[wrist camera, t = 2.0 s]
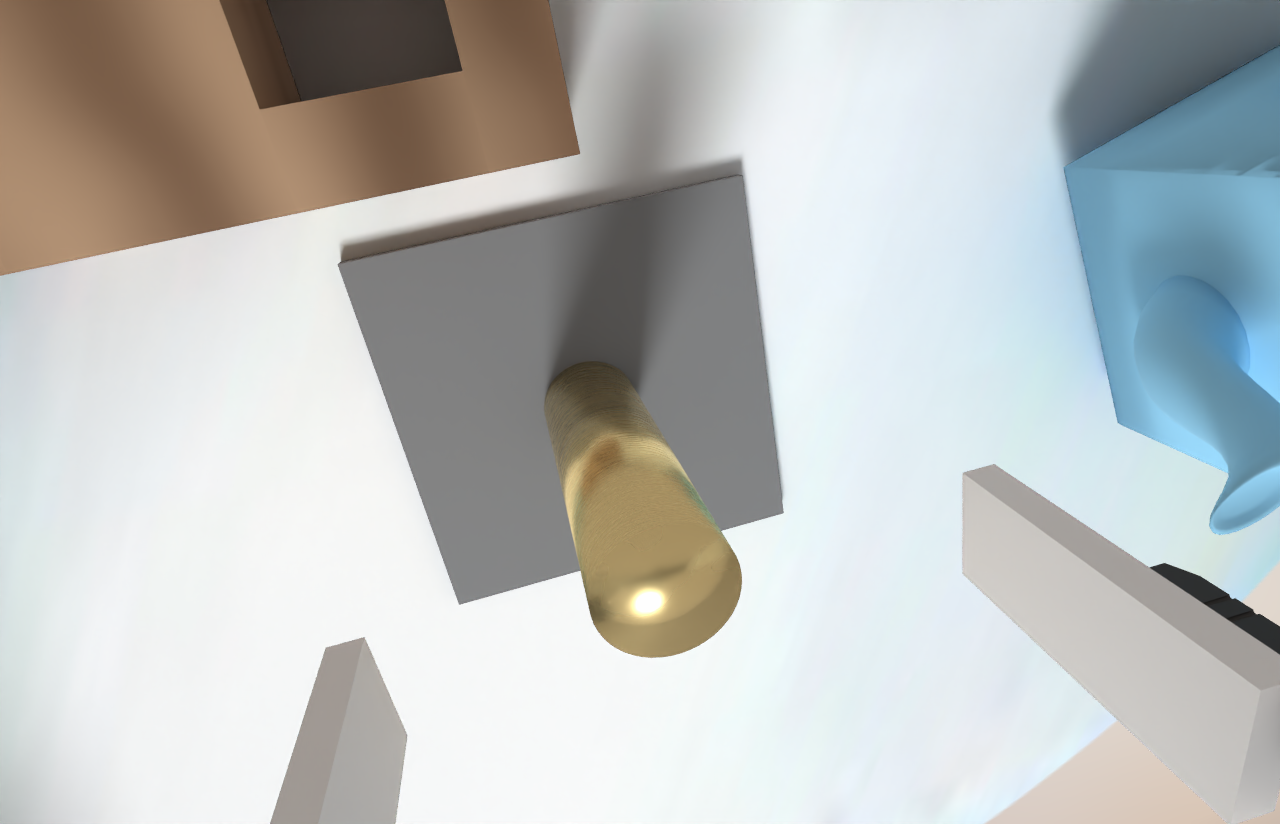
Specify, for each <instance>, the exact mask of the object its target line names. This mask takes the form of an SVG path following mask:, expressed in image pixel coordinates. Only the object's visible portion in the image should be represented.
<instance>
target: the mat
mask: <svg viewBox="0 0 1280 824" xmlns="http://www.w3.org/2000/svg"><path fill="white" fill-rule="evenodd" d="M338 267H339V270H340V273H341V275H342V278H343V281H344V284H345V287H346V289H347V292H348V295H349V298H350V300H351V303H352V306H353V309H354V312H355V314H356V317H357V320H358V323H359V326H360V328H361V331H362V334H363V337H364V340H365V342H366V345H367V348H368V351H369V354H370V356H371V359H372V362H373V365H374V368H375V370H376V373H377V376H378V379H379V382H380V384H381V387H382V390H383V393H384V396H385V398H386V401H387V404H388V407H389V410H390V412H391V415H392V418H393V421H394V424H395V426H396V429H397V432H398V435H399V438H400V440H401V443H402V446H403V449H404V452H405V454H406V457H407V460H408V463H409V466H410V468H411V471H412V474H413V477H414V480H415V482H416V485H417V488H418V491H419V494H420V496H421V499H422V502H423V505H424V508H425V510H426V513H427V516H428V519H429V522H430V524H431V527H432V530H433V533H434V536H435V538H436V541H437V544H438V547H439V550H440V552H441V555H442V558H443V561H444V564H445V566H446V569H447V572H448V575H449V577H450V580H451V583H452V586H453V589H454V591H455V594H456V597H457V600H458V603H459V605H460V604H463V603H467V602H470V601H474V600H478V599H481V598H485V597H488V596H492V595H495V594H499V593H502V592H506V591H509V590H513V589H517V588H520V587H524V586H527V585H531V584H534V583H538V582H541V581H545V580H548V579H552V578H555V577H559V576H563V575H566V574H570V573H573V572H577V571H580V566H579V562H578V557H577V553H576V549H575V544H574V540H573V536H572V531H571V527H570V523H569V518H568V514H567V509H566V505H565V501H564V496H563V492H562V488H561V483H560V479H559V475H558V470H557V466H556V461H555V457H554V453H553V448H552V444H551V440H550V435H549V431H548V427H547V422H546V418H545V413H544V401H545V396H546V393H547V390H548V388H549V386H550V384H551V383H552V381H553V380H554V379H555V378H556V377H557V376H558V375H559V374H560V373H561V372H562V371H563V370H565V369H567V368H568V367H570V366H572V365H574V364H577V363H581V362H586V361H599V362H604V363H607V364H610V365H612V366H614V367H616V368H618V369H619V370H621V371H622V372H623V373H624V374H625V375H626V376H627V378H628V379H629V380H630V382H631V384H632V385H633V387H634V389H635V390H636V392H637V393H638V395H639V397H640V398H641V400H642V402H643V403H644V405H645V407H646V408H647V410H648V412H649V413H650V415H651V417H652V418H653V420H654V422H655V423H656V425H657V426H658V428H659V430H660V431H661V433H662V435H663V436H664V438H665V440H666V441H667V443H668V445H669V446H670V448H671V450H672V451H673V453H674V454H675V456H676V458H677V459H678V461H679V463H680V464H681V466H682V468H683V469H684V471H685V473H686V474H687V476H688V478H689V479H690V481H691V483H692V484H693V486H694V487H695V489H696V491H697V492H698V494H699V496H700V497H701V499H702V501H703V502H704V504H705V506H706V507H707V509H708V511H709V512H710V514H711V515H712V517H713V519H714V520H715V522H716V524H717V525H718V527H719V529H720V530H721V531H722V530H726V529H729V528H733V527H736V526H740V525H743V524H747V523H750V522H754V521H757V520H761V519H764V518H768V517H772V516H775V515H779V514H782V513H784V512H783V504H782V496H781V488H780V480H779V471H778V463H777V455H776V447H775V438H774V430H773V422H772V414H771V406H770V397H769V389H768V381H767V373H766V365H765V356H764V348H763V340H762V332H761V323H760V315H759V307H758V299H757V291H756V282H755V274H754V266H753V258H752V250H751V241H750V233H749V225H748V217H747V208H746V200H745V192H744V184H743V176H742V175H735V176H730V177H725V178H721V179H716V180H712V181H707V182H703V183H698V184H694V185H689V186H684V187H680V188H675V189H671V190H666V191H662V192H657V193H652V194H648V195H643V196H639V197H634V198H630V199H625V200H621V201H616V202H611V203H607V204H602V205H598V206H593V207H589V208H584V209H580V210H575V211H570V212H566V213H561V214H557V215H552V216H548V217H543V218H539V219H534V220H529V221H525V222H520V223H516V224H511V225H507V226H502V227H498V228H493V229H488V230H484V231H479V232H475V233H470V234H466V235H461V236H457V237H452V238H447V239H443V240H438V241H434V242H429V243H425V244H420V245H415V246H411V247H406V248H402V249H397V250H393V251H388V252H384V253H379V254H374V255H370V256H365V257H361V258H356V259H352V260H347V261H343V262H340V263H339V264H338Z"/></svg>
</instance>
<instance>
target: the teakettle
mask: <svg viewBox="0 0 1280 824" xmlns="http://www.w3.org/2000/svg"><path fill="white" fill-rule="evenodd" d="M1064 172H1065V177H1066V181H1067V186H1068V191H1069V195H1070V200H1071V205H1072V210H1073V214H1074V219H1075V224H1076V228H1077V233H1078V238H1079V242H1080V247H1081V252H1082V256H1083V261H1084V265H1085V270H1086V275H1087V280H1088V285H1089V289H1090V294H1091V299H1092V304H1093V309H1094V313H1095V318H1096V322H1097V327H1098V332H1099V336H1100V341H1101V346H1102V350H1103V355H1104V360H1105V365H1106V369H1107V374H1108V379H1109V384H1110V389H1111V393H1112V398H1113V403H1114V407H1115V412H1116V417H1117V421H1118V423H1119V424H1121V425H1123V426H1125V427H1127V428H1129V429H1132V430H1134V431H1136V432H1138V433H1140V434H1143V435H1145V436H1147V437H1149V438H1151V439H1154V440H1156V441H1158V442H1160V443H1163V444H1165V445H1167V446H1169V447H1171V448H1174V449H1176V450H1178V451H1180V452H1182V453H1185V454H1187V455H1189V456H1191V457H1193V458H1196V459H1198V460H1200V461H1202V462H1205V463H1207V464H1209V465H1211V466H1213V467H1216V468H1218V469H1220V470H1222V471H1224V472H1227V473H1228V475H1229V477H1228V480H1227V482H1226V484H1225V487H1224V489H1223V492H1222V494H1221V495H1220V497H1219V499H1218V501H1217V503H1216V505H1215V507H1214V509H1213V511H1212V513H1211V516H1210V524H1209V526H1210V528H1211V530H1212V532H1213V533H1216V534H1219V535H1221V534H1229V533H1233V532H1236V531H1239V530H1241V529H1243V528H1246V527H1248V526H1250V525H1252V524H1253V523H1255V522H1257V521H1259V520H1261V519H1262V518H1264V517H1265V516H1267V515H1268V514H1270V513H1271V512H1272V511H1274V510H1275V509H1276V508H1278V507H1279V506H1280V45H1279V46H1277V47H1275V48H1274V49H1272V50H1270V51H1268V52H1267V53H1265V54H1263V55H1261V56H1259V57H1258V58H1256V59H1254V60H1252V61H1250V62H1249V63H1247V64H1245V65H1243V66H1242V67H1240V68H1238V69H1236V70H1234V71H1233V72H1231V73H1229V74H1227V75H1226V76H1224V77H1222V78H1220V79H1218V80H1217V81H1215V82H1213V83H1211V84H1210V85H1208V86H1206V87H1204V88H1203V89H1201V90H1199V91H1197V92H1195V93H1194V94H1192V95H1190V96H1188V97H1187V98H1185V99H1183V100H1181V101H1179V102H1178V103H1176V104H1174V105H1172V106H1171V107H1169V108H1167V109H1165V110H1164V111H1162V112H1160V113H1158V114H1156V115H1155V116H1153V117H1151V118H1149V119H1148V120H1146V121H1144V122H1142V123H1141V124H1139V125H1137V126H1135V127H1133V128H1132V129H1130V130H1128V131H1126V132H1125V133H1123V134H1121V135H1119V136H1118V137H1116V138H1114V139H1112V140H1110V141H1109V142H1107V143H1105V144H1103V145H1102V146H1100V147H1098V148H1096V149H1095V150H1093V151H1091V152H1089V153H1088V154H1086V155H1084V156H1082V157H1080V158H1079V159H1077V160H1075V161H1073V162H1072V163H1070V164H1068V165H1067V166H1065V167H1064Z"/></svg>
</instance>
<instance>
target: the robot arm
mask: <svg viewBox="0 0 1280 824" xmlns="http://www.w3.org/2000/svg"><path fill="white" fill-rule="evenodd" d="M962 574H963V575H964V576H965V577H966V578H968V579H969V580H970V581H971V582H972V583H973V584H974V585H975V586H976V587H977V588H978V589H979V590H980V591H981V592H982V593H983V594H985V595H986V596H987V597H988V598H989V599H990V600H991V601H992V602H993V603H994V604H995V605H996V606H997V607H998V608H999V609H1000V610H1001V611H1003V612H1004V613H1005V614H1006V615H1007V616H1008V617H1009V618H1010V619H1011V620H1012V621H1013V622H1014V623H1015V624H1016V625H1017V626H1018V627H1019V628H1021V629H1022V630H1023V631H1024V632H1025V633H1026V634H1027V635H1028V636H1029V637H1030V638H1031V639H1032V640H1033V641H1034V642H1035V643H1036V644H1037V645H1039V646H1040V647H1041V648H1042V649H1043V650H1044V651H1045V652H1046V653H1047V654H1048V655H1049V656H1050V657H1051V658H1052V659H1053V660H1054V661H1056V662H1057V663H1058V664H1059V665H1060V666H1061V667H1062V668H1063V669H1064V670H1065V671H1066V672H1067V673H1068V674H1069V675H1070V676H1071V677H1072V678H1074V679H1075V680H1076V681H1077V682H1078V683H1079V684H1080V685H1081V686H1082V687H1083V688H1084V689H1085V690H1086V691H1087V692H1088V693H1089V694H1090V695H1092V696H1093V697H1094V698H1095V699H1096V700H1097V701H1098V702H1099V703H1100V704H1101V705H1102V706H1103V707H1104V708H1105V709H1106V710H1107V711H1109V712H1110V713H1111V714H1112V715H1113V716H1114V717H1115V718H1116V719H1117V720H1118V721H1119V722H1120V723H1121V724H1122V725H1123V726H1124V727H1125V728H1127V729H1128V730H1129V731H1130V732H1131V733H1132V734H1133V735H1134V736H1135V737H1136V738H1137V739H1138V740H1139V741H1140V742H1142V744H1143V745H1145V746H1146V747H1147V748H1148V749H1149V750H1150V751H1151V752H1152V753H1153V754H1154V755H1155V756H1156V757H1157V758H1158V759H1159V760H1160V761H1162V762H1163V763H1164V764H1165V765H1166V766H1167V767H1168V768H1169V769H1170V770H1171V771H1172V772H1173V773H1174V774H1175V775H1176V776H1177V777H1178V778H1180V779H1181V780H1182V781H1183V782H1184V783H1185V784H1186V785H1187V786H1188V787H1189V788H1190V789H1191V790H1192V791H1193V792H1194V793H1195V794H1196V795H1198V796H1199V797H1200V798H1201V799H1202V800H1203V801H1204V802H1205V803H1206V804H1207V805H1208V806H1209V807H1210V808H1211V809H1212V810H1213V811H1215V812H1216V813H1217V814H1218V815H1219V816H1220V817H1221V818H1222V819H1223V820H1224V821H1225V822H1226V823H1227V824H1238V823H1241V822H1243V821H1246V820H1249V819H1252V818H1255V817H1258V816H1261V815H1264V814H1267V813H1269V812H1272V811H1274V810H1275V806H1276V802H1277V798H1278V794H1279V790H1280V626H1278V625H1277V624H1275V623H1273V622H1272V621H1270V620H1269V619H1267V618H1265V617H1264V616H1262V615H1261V614H1255V613H1254V611H1253V609H1251V608H1250V607H1248V606H1246V605H1245V604H1243V603H1242V602H1240V601H1239V600H1237V599H1231V598H1230V596H1229V594H1227V593H1226V592H1224V591H1223V590H1221V589H1220V588H1218V587H1216V586H1215V585H1213V584H1212V583H1210V582H1208V581H1207V580H1205V579H1204V578H1202V577H1201V576H1198V575H1196V574H1193V573H1190V572H1187V571H1185V570H1182V569H1179V568H1177V567H1174V566H1171V565H1169V564H1166V563H1163V564H1160V565H1156V566H1153V567H1150V568H1149V567H1148V566H1146V565H1145V564H1143V563H1142V562H1140V561H1139V560H1137V559H1136V558H1134V557H1133V556H1131V555H1130V554H1128V553H1127V552H1125V551H1124V550H1122V549H1121V548H1119V547H1118V546H1116V545H1115V544H1113V543H1112V542H1110V541H1109V540H1107V539H1106V538H1104V537H1103V536H1101V535H1100V534H1098V533H1097V532H1095V531H1094V530H1092V529H1091V528H1089V527H1088V526H1086V525H1085V524H1083V523H1082V522H1080V521H1079V520H1077V519H1076V518H1074V517H1073V516H1071V515H1070V514H1068V513H1067V512H1065V511H1064V510H1062V509H1061V508H1059V507H1058V506H1056V505H1055V504H1053V503H1052V502H1050V501H1049V500H1047V499H1046V498H1044V497H1043V496H1041V495H1040V494H1038V493H1037V492H1035V491H1034V490H1032V489H1031V488H1029V487H1028V486H1026V485H1025V484H1023V483H1022V482H1020V481H1019V480H1017V479H1016V478H1014V477H1013V476H1011V475H1010V474H1008V473H1007V472H1005V471H1004V470H1002V469H1001V468H999V467H998V466H996V465H995V464H993V465H989V466H986V467H982V468H978V469H975V470H971V471H967V472H964V473H963V534H962ZM406 742H407V734H406V731H405V729H404V727H403V724H402V722H401V720H400V718H399V715H398V713H397V711H396V708H395V706H394V704H393V702H392V699H391V697H390V695H389V692H388V690H387V688H386V686H385V683H384V681H383V679H382V676H381V674H380V672H379V670H378V667H377V665H376V663H375V660H374V658H373V656H372V654H371V651H370V649H369V647H368V644H367V642H366V640H365V638H364V637H363V638H360V639H356V640H352V641H349V642H345V643H342V644H338V645H334V646H331V647H327V648H326V649H325V652H324V655H323V658H322V661H321V665H320V668H319V671H318V674H317V677H316V680H315V684H314V687H313V690H312V693H311V696H310V699H309V703H308V706H307V709H306V712H305V715H304V718H303V721H302V725H301V728H300V731H299V734H298V737H297V740H296V744H295V747H294V750H293V753H292V756H291V759H290V763H289V766H288V769H287V772H286V775H285V778H284V781H283V785H282V788H281V791H280V794H279V797H278V800H277V804H276V807H275V810H274V813H273V816H272V819H271V823H270V824H395V822H396V815H397V807H398V800H399V793H400V786H401V778H402V771H403V764H404V756H405V749H406Z"/></svg>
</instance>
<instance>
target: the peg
mask: <svg viewBox="0 0 1280 824" xmlns="http://www.w3.org/2000/svg"><path fill="white" fill-rule="evenodd" d="M544 413H545V418H546V422H547V427H548V431H549V435H550V440H551V444H552V448H553V453H554V457H555V461H556V466H557V470H558V475H559V479H560V483H561V488H562V492H563V496H564V501H565V505H566V509H567V514H568V518H569V523H570V527H571V531H572V536H573V540H574V544H575V549H576V553H577V557H578V562H579V566H580V571H581V575H582V579H583V584H584V588H585V592H586V597H587V601H588V605H589V610H590V614H591V617H592V620H593V623H594V625H595V627H596V629H597V630H598V632H599V633H600V634H601V636H602V637H603V638H604V639H605V640H606V641H607V642H608V643H609V644H611V645H612V646H614V647H615V648H617V649H619V650H621V651H623V652H625V653H628V654H631V655H635V656H640V657H650V658H653V657H666V656H672V655H676V654H680V653H683V652H686V651H688V650H691V649H693V648H695V647H697V646H699V645H700V644H702V643H704V642H705V641H707V640H708V639H709V638H711V637H712V636H713V635H715V634H716V633H717V632H718V631H719V630H720V629H721V628H722V627H723V625H724V624H725V623H726V622H727V621H728V619H729V618H730V616H731V615H732V613H733V611H734V609H735V607H736V605H737V602H738V600H739V597H740V592H741V585H742V575H741V569H740V565H739V562H738V559H737V557H736V555H735V553H734V552H733V550H732V548H731V547H730V545H729V544H728V542H727V540H726V539H725V537H724V535H723V534H722V532H721V530H720V529H719V527H718V525H717V524H716V522H715V520H714V519H713V517H712V515H711V514H710V512H709V511H708V509H707V507H706V506H705V504H704V502H703V501H702V499H701V497H700V496H699V494H698V492H697V491H696V489H695V487H694V486H693V484H692V483H691V481H690V479H689V478H688V476H687V474H686V473H685V471H684V469H683V468H682V466H681V464H680V463H679V461H678V459H677V458H676V456H675V454H674V453H673V451H672V450H671V448H670V446H669V445H668V443H667V441H666V440H665V438H664V436H663V435H662V433H661V431H660V430H659V428H658V426H657V425H656V423H655V422H654V420H653V418H652V417H651V415H650V413H649V412H648V410H647V408H646V407H645V405H644V403H643V402H642V400H641V398H640V397H639V395H638V393H637V392H636V390H635V389H634V387H633V385H632V384H631V382H630V380H629V379H628V378H627V376H626V375H625V374H624V373H623V372H622V371H621V370H619V369H618V368H616V367H614V366H612V365H610V364H607V363H604V362H599V361H586V362H581V363H577V364H574V365H572V366H570V367H568V368H567V369H565V370H563V371H562V372H561V373H560V374H559V375H558V376H557V377H556V378H555V379H554V380H553V381H552V383H551V384H550V386H549V388H548V390H547V393H546V396H545V401H544Z"/></svg>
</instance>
